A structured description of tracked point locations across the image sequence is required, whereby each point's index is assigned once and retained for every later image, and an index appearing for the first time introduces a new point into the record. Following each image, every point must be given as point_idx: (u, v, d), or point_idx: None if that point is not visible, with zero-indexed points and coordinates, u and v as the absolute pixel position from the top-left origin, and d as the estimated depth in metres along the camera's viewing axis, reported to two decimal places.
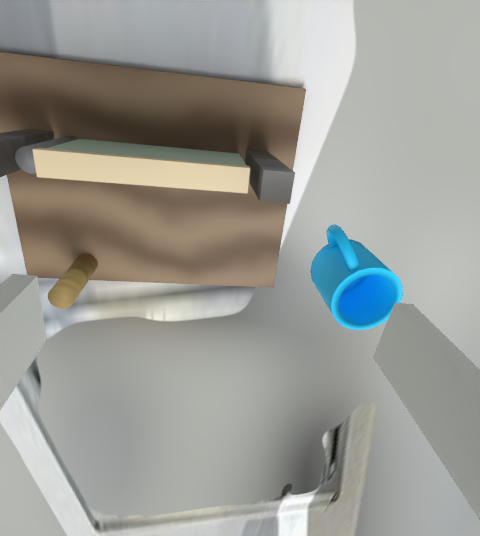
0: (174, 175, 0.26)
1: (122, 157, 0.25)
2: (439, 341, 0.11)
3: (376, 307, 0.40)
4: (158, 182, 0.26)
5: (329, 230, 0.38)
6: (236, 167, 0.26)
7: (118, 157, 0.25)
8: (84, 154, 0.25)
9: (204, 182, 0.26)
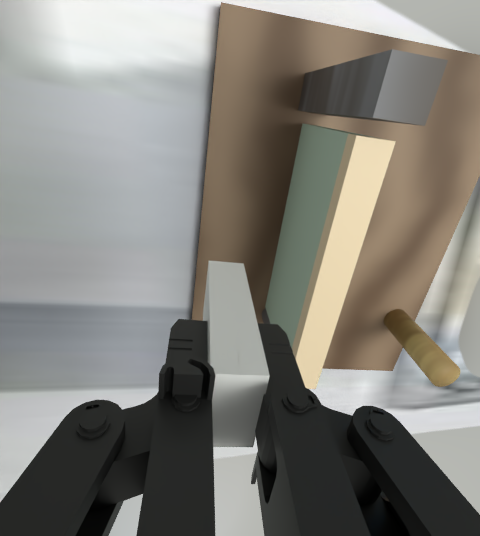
0: (343, 252, 0.18)
1: (309, 309, 0.20)
2: (238, 289, 0.12)
3: None
4: (348, 273, 0.19)
5: None
6: (350, 159, 0.16)
7: (308, 313, 0.20)
8: (299, 345, 0.21)
9: (361, 211, 0.17)
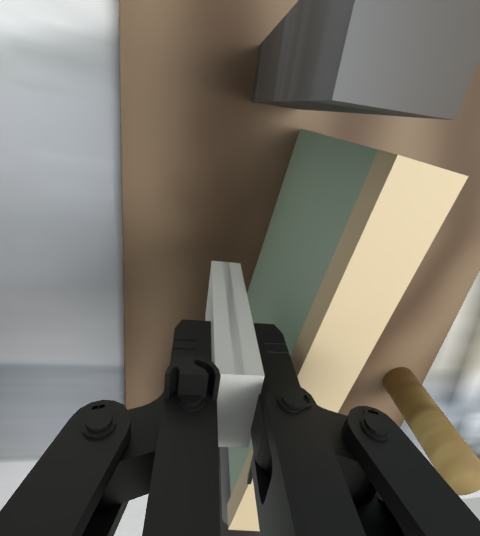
0: (341, 352, 0.10)
1: None
2: (234, 289, 0.12)
3: None
4: (344, 384, 0.11)
5: None
6: (378, 198, 0.08)
7: None
8: None
9: (384, 292, 0.09)
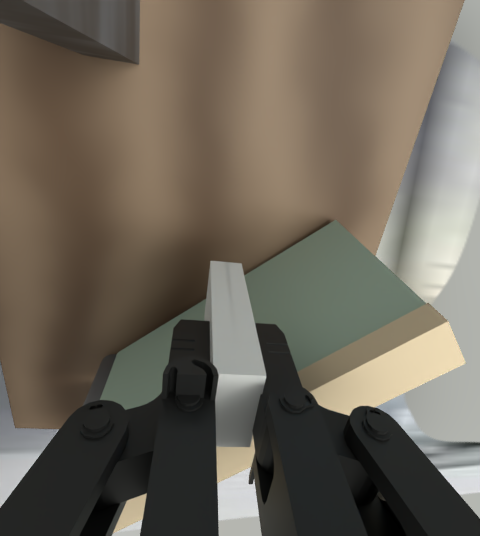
0: None
1: None
2: (235, 289, 0.12)
3: None
4: None
5: None
6: (412, 338, 0.10)
7: None
8: None
9: (358, 401, 0.11)
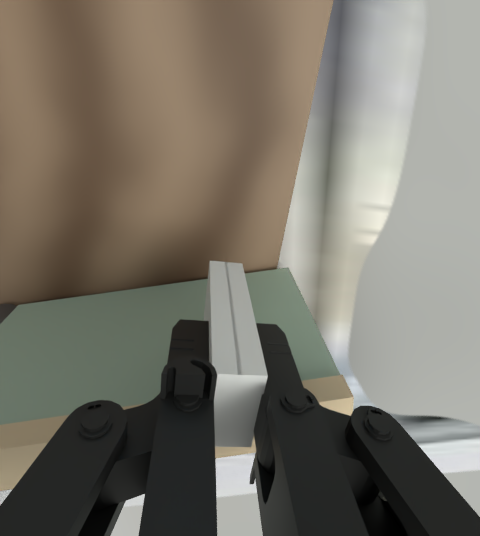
0: None
1: None
2: (236, 289, 0.12)
3: None
4: None
5: None
6: (319, 401, 0.11)
7: (45, 443, 0.11)
8: None
9: None
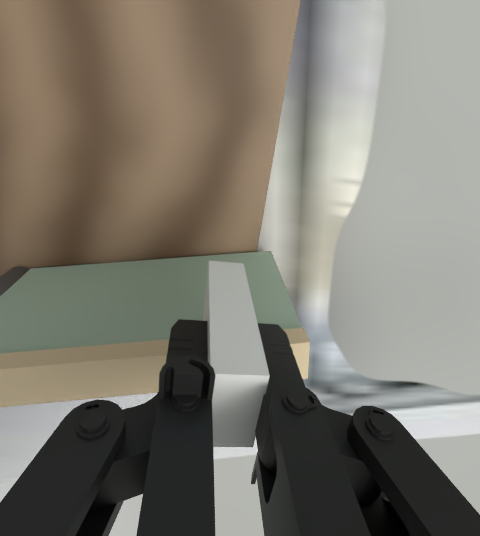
0: None
1: (70, 362, 0.13)
2: (238, 289, 0.12)
3: None
4: (142, 388, 0.14)
5: None
6: None
7: (62, 364, 0.13)
8: None
9: None
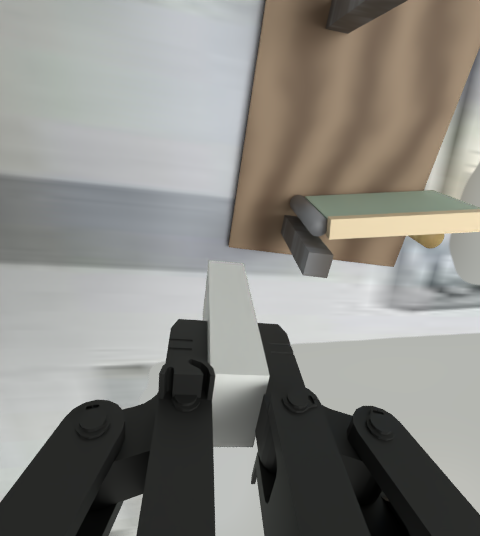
0: (433, 224, 0.32)
1: (396, 216, 0.31)
2: (238, 289, 0.12)
3: None
4: (419, 231, 0.32)
5: None
6: None
7: (393, 216, 0.31)
8: (368, 218, 0.31)
9: (456, 227, 0.32)
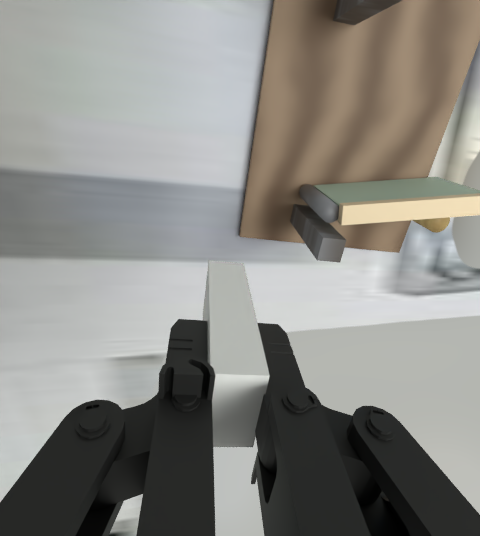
0: (440, 208, 0.33)
1: (405, 201, 0.33)
2: (238, 289, 0.12)
3: None
4: (427, 216, 0.34)
5: None
6: None
7: (402, 202, 0.33)
8: (378, 203, 0.33)
9: (462, 210, 0.34)
